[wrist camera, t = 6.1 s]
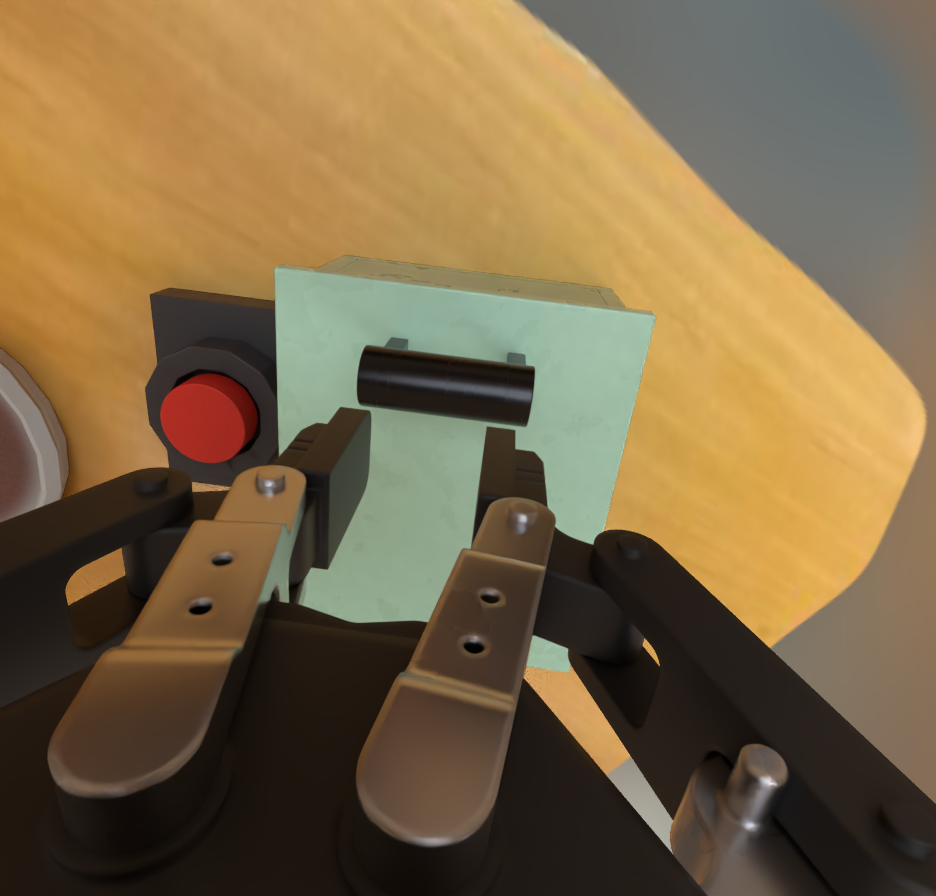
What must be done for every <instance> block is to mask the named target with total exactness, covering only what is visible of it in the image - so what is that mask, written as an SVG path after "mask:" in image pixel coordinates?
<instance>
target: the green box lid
mask: <svg viewBox="0 0 936 896" xmlns="http://www.w3.org/2000/svg"><path fill="white" fill-rule="evenodd" d="M274 280H275V320H276V360H277V400H278V440H279V456H280V455H281V454H282V453H283V451H284V450H285V449H287V447H288V445H289V444H290V443H291V442H292V441H294V438H295V437H296V436H297V435H298V433H299V432H300V431H301V430H302V429H304V428H306V427H308V426H310V425H313V424H315V423H324V424H328V422H329V421H330V420H331V418H332V417H333V416H334V414H335V413H336V412H337V410H338V409H339V408H340V407H347V408H355V409H362V410H369V411H370V412H371V419H372V421H371V443H370V464H369V476H368V481H367V486H366V489H365V492H364V494H363V497H362V499H361V501H360V503H359V505H358V507H357V509H356V511H355V513H354V516H353V518H352V520H351V522H350V524H349V526H348V528H347V530H346V532H345V535H344V537H343V539H342V541H341V543H340V545H339V547H338V549H337V551H336V554H335V556H334V558H333V560H332V562H331V564H330V566H329V568H328V570H325V569H318V568H311V569H310V571H309V573H308V574H307V576H306V594H305V598H304V603H303V606H306V607H309V608H311V609H314V610H317V611H320V612H323V613H326V614H329V615H332V616H334V617H337V618H340V619H343V620H346V621H349V622H354V623H366V622H389V621H413V620H416V621H423V622H428V621H429V619H430V617H431V615H432V613H433V610H434V608H435V606H436V604H437V602H438V599H439V597H440V595H441V593H442V591H443V588H444V586H445V584H446V582H447V580H448V578H449V575H450V573H451V571H452V569H453V567H454V564H455V562H456V560H457V558H458V556H459V553H460V551H461V550H462V548H468V549H470V548H471V543H472V535H473V526H474V518H475V510H476V502H477V494H478V487H479V479H480V472H481V464H482V457H483V450H484V442H485V435H486V428H487V426H490V427H497V428H505V429H512V430H515V431H516V436H515V449H519V450H526V451H534V452H535V453H536V454H537V455H538V456H539V457H540V459H541V460H542V461H543V462H544V472H545V473H544V475H545V483H546V494H547V504H548V508H549V509H550V510H551V511H552V512H553V513H554V515H555V518H556V524H555V527H556V528H557V529H559V530H560V531H561V532H563V533H565V534H566V535H568V536H570V537H572V538H575V539H578V540H580V541H583V542H586V543H590V544H593V543H594V540H595V538H596V536H597V535H598V534H600V533H602V532H604V528H605V524H606V520H607V516H608V511H609V507H610V503H611V499H612V495H613V491H614V487H615V483H616V479H617V475H618V471H619V466H620V462H621V458H622V454H623V450H624V446H625V442H626V438H627V434H628V430H629V426H630V422H631V417H632V413H633V409H634V405H635V401H636V397H637V393H638V389H639V385H640V381H641V377H642V373H643V368H644V364H645V360H646V356H647V352H648V348H649V344H650V340H651V336H652V332H653V328H654V324H655V319H656V315H655V314H654V313H653V312H651V311H647V310H639V309H631V308H623V307H615V306H607V305H599V304H592V303H584V302H576V301H568V300H560V299H552V298H544V297H536V296H528V295H521V294H513V293H505V292H497V291H489V290H481V289H473V288H465V287H458V286H450V285H442V284H434V283H426V282H418V281H410V280H402V279H395V278H387V277H379V276H371V275H363V274H355V273H347V272H339V271H331V270H324V269H316V268H308V267H300V266H292V265H284V264H282V265H279V266H277V267H275V268H274ZM526 667H532V668H539V669H547V670H554V671H561V672H569V671H570V667H571V664H570V662H569V659H568V648H565V647H562V646H560V645H557V644H555V643H552V642H550V641H547V640H545V639H542V638H539V637H537V636H534V635H533V637H532V641H531V646H530V651H529V656H528V660H527V665H526Z"/></svg>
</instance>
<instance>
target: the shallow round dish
mask: <svg viewBox="0 0 936 896" xmlns="http://www.w3.org/2000/svg"><path fill="white" fill-rule="evenodd" d="M68 474H69V465H68V455H67V446H66V438H65V435H64V433H63V431H62V428H61V426H60V424H59V421H58V419H57V417H56V415H55V412H54V410H53V408H52V405H51V403H50V401H49V400H48V399H47V397H46V396H45V395H44V393H43V392H42V391H41V390H40V388H39V387H38V386H37V384H36V383H35V382H34V380H33V379H32V378H31V377H30V375H29V374H28V373H27V371H26V370H25V369H24V367H23V366H21V365H20V364H19V363H18V362H17V361H15V360H14V359H13V358H12V357H10V356H9V355H8V354H7V353H6V352H4V351H3V350H2V349H1V348H0V522H3V521H6V520H8V519H11V518H13V517H16V516H18V515H21V514H24V513H26V512H29V511H31V510H34V509H37V508H39V507H42V506H44V505H47V504H50V503H52V502H55V501H57V500H60V499H62V495H63V492H64V488H65V485H66V481H67V478H68Z"/></svg>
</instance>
